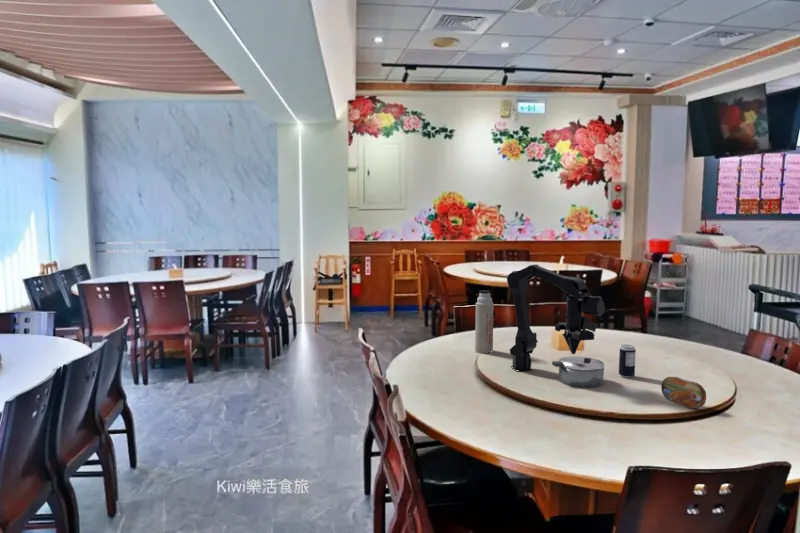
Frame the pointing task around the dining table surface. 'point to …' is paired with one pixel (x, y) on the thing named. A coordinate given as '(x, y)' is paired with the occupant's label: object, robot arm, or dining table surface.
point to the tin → (683, 392)
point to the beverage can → (627, 361)
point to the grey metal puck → (581, 377)
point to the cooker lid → (579, 363)
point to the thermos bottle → (484, 323)
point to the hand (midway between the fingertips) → (573, 353)
